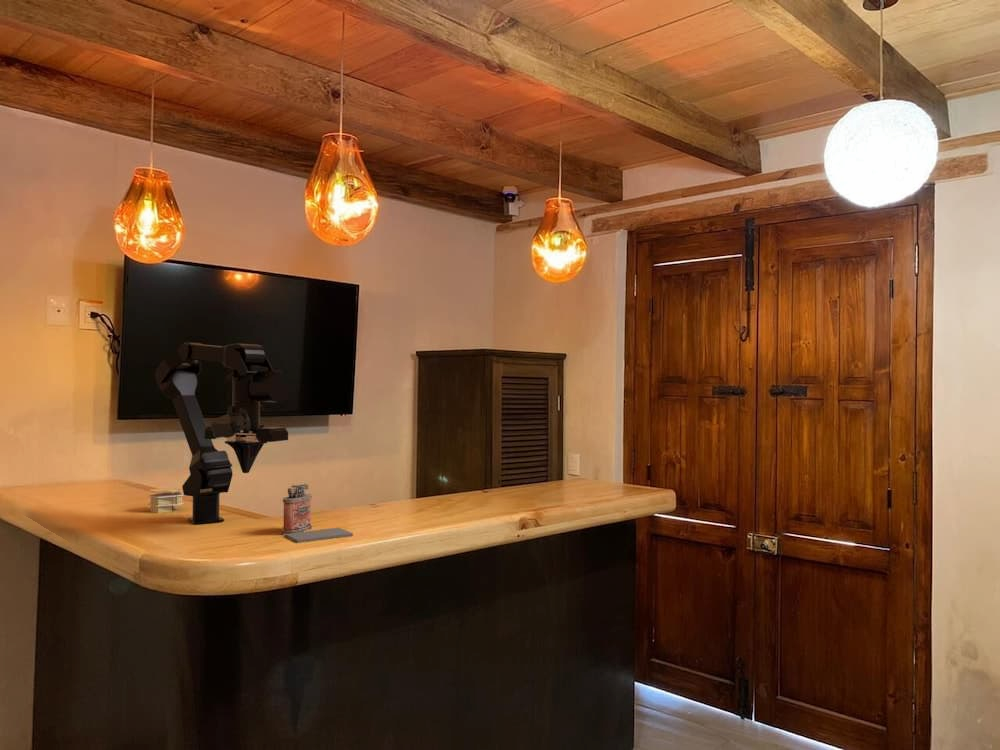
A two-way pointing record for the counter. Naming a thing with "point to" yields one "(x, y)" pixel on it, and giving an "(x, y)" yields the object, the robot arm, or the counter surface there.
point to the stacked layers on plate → (165, 500)
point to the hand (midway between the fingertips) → (245, 472)
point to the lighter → (297, 510)
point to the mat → (318, 535)
